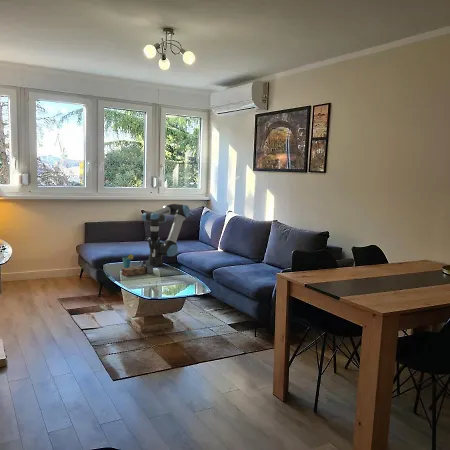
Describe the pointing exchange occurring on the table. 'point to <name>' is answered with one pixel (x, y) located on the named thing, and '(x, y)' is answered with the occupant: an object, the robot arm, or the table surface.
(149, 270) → the collar
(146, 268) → the base
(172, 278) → the table surface
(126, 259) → the cup
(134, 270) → the hinged jaw
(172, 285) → the table surface
